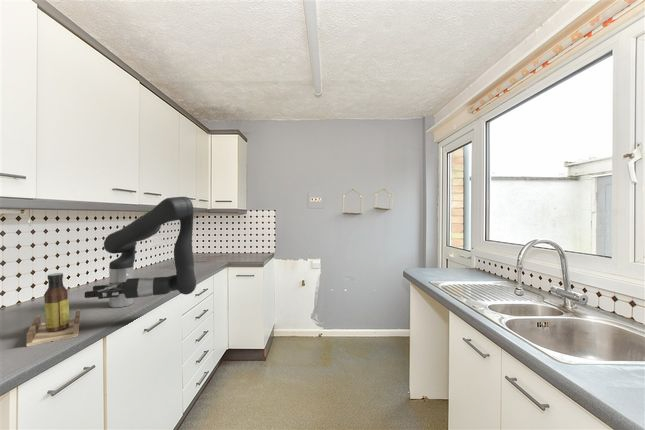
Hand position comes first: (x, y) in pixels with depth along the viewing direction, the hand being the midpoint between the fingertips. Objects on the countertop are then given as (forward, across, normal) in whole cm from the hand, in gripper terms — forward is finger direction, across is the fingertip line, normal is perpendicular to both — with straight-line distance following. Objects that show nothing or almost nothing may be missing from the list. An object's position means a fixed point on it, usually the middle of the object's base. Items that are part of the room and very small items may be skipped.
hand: (89, 291), depth 105 cm
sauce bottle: (+9, 0, +13) cm, 16 cm away
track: (+10, -1, +14) cm, 17 cm away
